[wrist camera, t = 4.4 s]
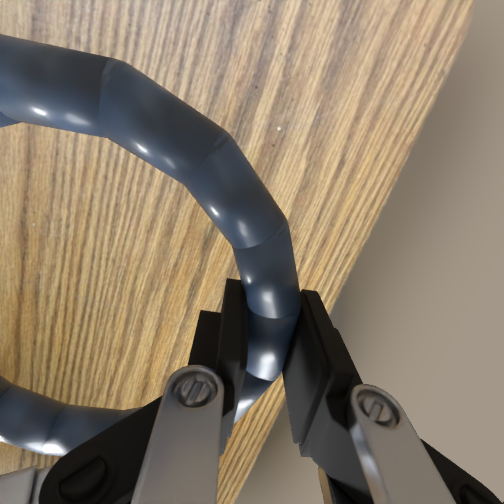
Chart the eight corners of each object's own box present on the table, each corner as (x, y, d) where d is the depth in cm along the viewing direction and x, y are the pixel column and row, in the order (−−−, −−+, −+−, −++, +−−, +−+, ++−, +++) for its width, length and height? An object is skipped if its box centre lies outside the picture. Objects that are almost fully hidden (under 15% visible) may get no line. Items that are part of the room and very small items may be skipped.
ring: (-238, -12, 7) (-394, -57, 5) (347, 112, 8) (373, 108, 6) (-72, 408, 12) (-120, 450, 11) (253, 440, 14) (254, 482, 12)
